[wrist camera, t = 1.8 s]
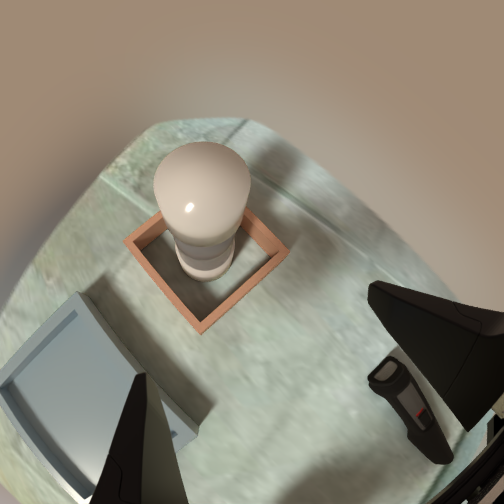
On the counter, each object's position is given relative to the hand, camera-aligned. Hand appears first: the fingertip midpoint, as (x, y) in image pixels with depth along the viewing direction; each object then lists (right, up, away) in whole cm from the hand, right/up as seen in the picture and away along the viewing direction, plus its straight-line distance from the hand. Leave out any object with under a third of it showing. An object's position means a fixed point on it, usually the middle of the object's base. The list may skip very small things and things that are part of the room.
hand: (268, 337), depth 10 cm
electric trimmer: (+15, -13, +12) cm, 23 cm away
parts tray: (-15, -10, +9) cm, 20 cm away
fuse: (-4, +3, +14) cm, 15 cm away
